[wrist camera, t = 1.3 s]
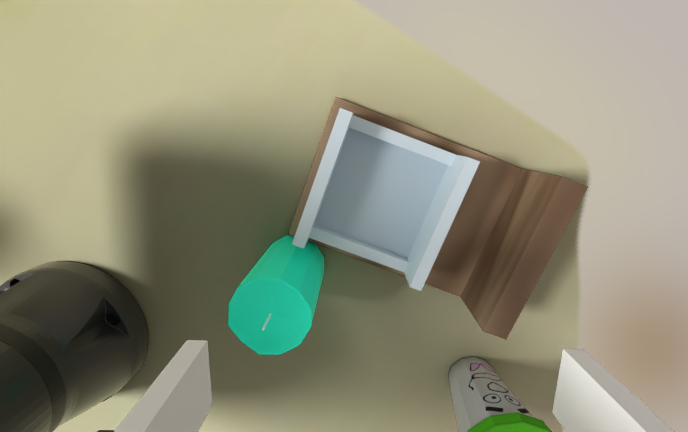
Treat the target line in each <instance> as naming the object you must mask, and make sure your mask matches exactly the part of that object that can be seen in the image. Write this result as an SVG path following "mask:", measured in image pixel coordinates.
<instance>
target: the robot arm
mask: <svg viewBox="0 0 688 432" xmlns="http://www.w3.org/2000/svg"><path fill="white" fill-rule="evenodd" d="M147 349H148V329H147V324H146V321H145V318H144V315H143V313H142V311H141V309H140V307H139V305H138V303H137V302H136V300H135V299H134V297H133V296H132V295H131V294H130V292H129V291H128V290H127V289H126V288H125V287H124V286H123V285H122V284H121V283H119V282H118V281H117V280H116V279H114V278H113V277H111V276H110V275H108V274H107V273H105V272H103V271H101V270H99V269H97V268H94V267H92V266H89V265H86V264H82V263H77V262H69V261H58V262H50V263H46V264H42V265H39V266H37V267H34V268H32V269H30V270H27V271H25V272H22V273H20V274H18V275H16V276H14V277H12V278H11V279H9V280H7V281H6V282H5V283H3V284H2V285H1V286H0V432H53V431H54V430H55V429H56V428H57V427H58V426H59V425H61V424H63V423H65V422H67V421H68V420H70V419H72V418H74V417H76V416H77V415H79V414H81V413H83V412H85V411H86V410H88V409H90V408H92V407H93V406H95V405H97V404H98V403H100V402H102V401H105V400H107V399H108V398H110V397H112V396H113V395H114V394H116V393H117V392H118V391H119V390H121V389H122V388H123V387H124V386H125V385H126V384H127V382H128V381H129V380H130V379H131V378H132V377H133V376H134V375H135V374H136V373H137V371H138V370H139V369H140V367H141V366H142V364H143V362H144V359H145V357H146V354H147ZM211 406H212V392H211V379H210V366H209V353H208V340H187V341H186V342H185V343H184V344H183V346H182V347H181V348H180V349H179V351H178V352H177V353H176V354H175V356H174V357H173V358H172V359H171V361H170V362H169V363H168V364H167V366H166V367H165V368H164V370H163V371H162V372H161V373H160V375H159V376H158V377H157V378H156V380H155V381H154V382H153V383H152V385H151V386H150V387H149V388H148V390H147V391H146V392H145V393H144V395H143V396H142V397H141V398H140V400H139V401H138V402H137V403H136V405H135V406H134V407H133V408H132V410H131V411H130V412H129V413H128V415H127V416H126V417H125V419H124V420H123V421H122V422H121V424H120V425H119V426H118V427H117V429H116V430H115V431H113V430H99V431H98V432H198V431H199V429H200V427H201V425H202V423H203V422H204V420H205V418H206V416H207V414H208V412H209V410H210V408H211ZM552 413H553V415H554V416H555V417H556V419H557V420H558V421H559V423H560V424H561V426H562V427H563V428H564V430H565V431H566V432H675V431H674V430H672V429H671V428H670V427H669V426H668V425H667V424H666V423H665V422H664V421H662V420H661V419H660V418H659V417H658V416H657V415H656V414H655V413H654V412H653V411H651V410H650V409H649V408H648V407H647V406H646V405H645V404H643V403H642V401H640V400H639V399H638V398H637V397H636V396H635V395H634V394H633V393H632V392H631V391H629V390H628V389H627V388H626V387H625V386H624V385H623V384H622V383H621V382H620V381H618V380H617V379H616V378H615V377H614V376H613V375H612V374H611V373H610V372H609V371H608V370H606V369H605V368H604V367H603V366H602V365H601V364H600V363H599V362H598V361H597V360H595V359H594V358H593V357H592V356H591V355H590V354H589V353H588V352H586V351H585V350H584V349H563V353H562V358H561V364H560V370H559V376H558V381H557V387H556V393H555V399H554V405H553V410H552Z"/></svg>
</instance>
